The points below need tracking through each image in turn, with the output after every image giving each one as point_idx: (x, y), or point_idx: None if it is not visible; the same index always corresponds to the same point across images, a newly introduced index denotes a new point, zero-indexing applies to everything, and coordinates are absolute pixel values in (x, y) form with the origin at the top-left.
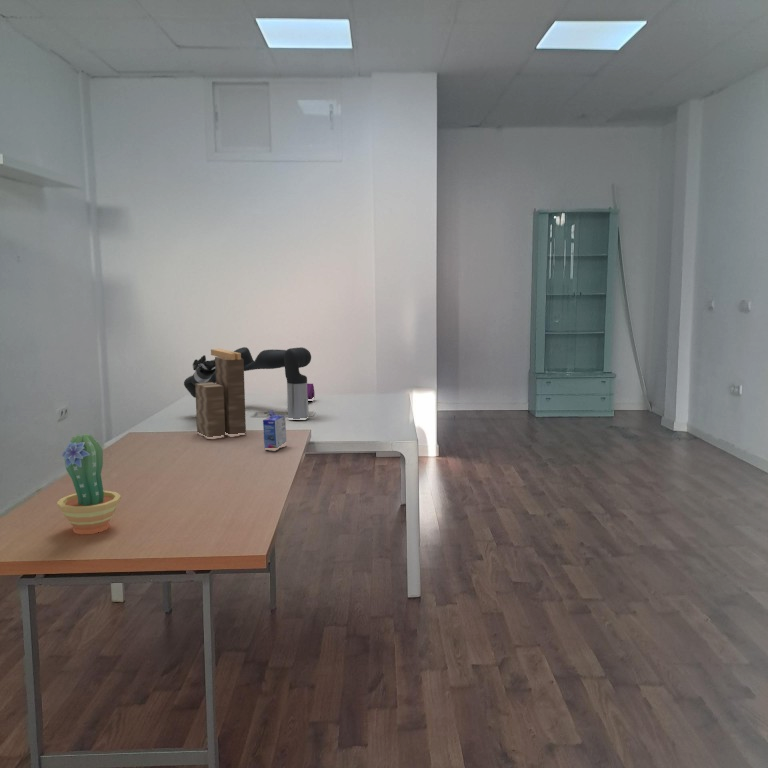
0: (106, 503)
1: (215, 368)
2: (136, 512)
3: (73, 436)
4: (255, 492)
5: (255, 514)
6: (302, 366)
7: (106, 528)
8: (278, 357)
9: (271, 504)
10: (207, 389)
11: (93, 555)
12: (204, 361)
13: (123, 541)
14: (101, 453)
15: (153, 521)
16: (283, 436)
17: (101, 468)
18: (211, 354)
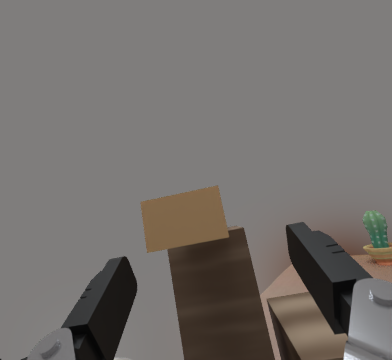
0: (366, 245)
1: (257, 286)
2: (368, 270)
3: (375, 210)
4: (289, 283)
5: (294, 271)
6: None
7: (376, 262)
8: None
9: (283, 276)
10: None
11: (368, 255)
12: (313, 290)
13: (359, 259)
14: (363, 222)
15: None
16: None
17: (367, 230)
18: (227, 230)
